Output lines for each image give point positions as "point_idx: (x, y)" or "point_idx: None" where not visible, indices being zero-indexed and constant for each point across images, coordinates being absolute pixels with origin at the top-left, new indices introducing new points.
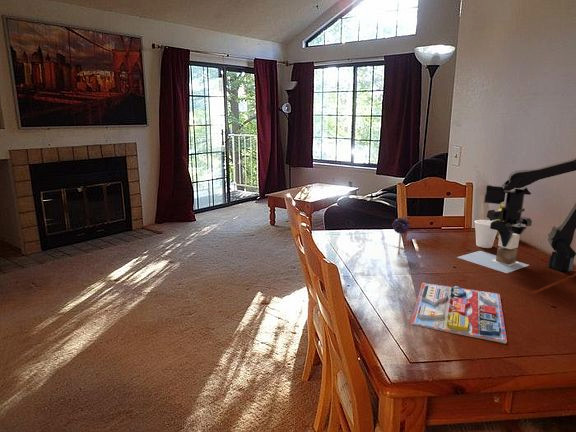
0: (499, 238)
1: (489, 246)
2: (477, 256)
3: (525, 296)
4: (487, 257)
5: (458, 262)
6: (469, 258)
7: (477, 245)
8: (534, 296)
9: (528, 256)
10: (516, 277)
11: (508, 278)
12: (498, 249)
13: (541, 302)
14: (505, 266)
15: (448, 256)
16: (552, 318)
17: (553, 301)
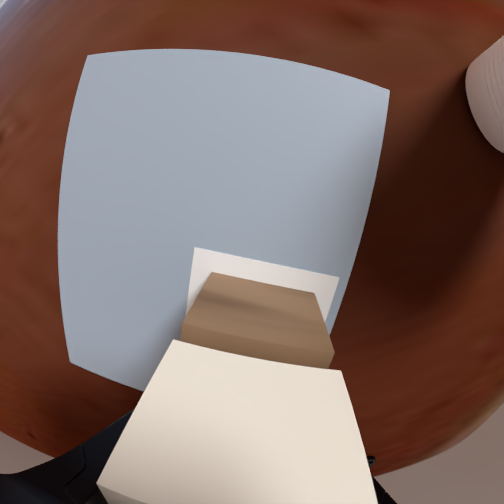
0: (134, 417)
1: (495, 140)
2: (208, 124)
3: (13, 399)
4: (246, 194)
5: (46, 108)
6: (114, 113)
7: (471, 64)
8: (30, 416)
9: (468, 355)
10: (88, 389)
11: (54, 366)
12: (182, 329)
13: (24, 421)
14: (148, 347)
15: (108, 14)
16: (3, 422)
17: (48, 442)
